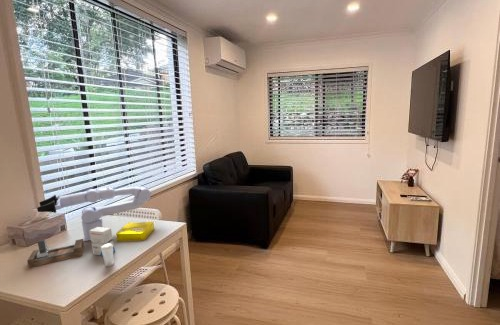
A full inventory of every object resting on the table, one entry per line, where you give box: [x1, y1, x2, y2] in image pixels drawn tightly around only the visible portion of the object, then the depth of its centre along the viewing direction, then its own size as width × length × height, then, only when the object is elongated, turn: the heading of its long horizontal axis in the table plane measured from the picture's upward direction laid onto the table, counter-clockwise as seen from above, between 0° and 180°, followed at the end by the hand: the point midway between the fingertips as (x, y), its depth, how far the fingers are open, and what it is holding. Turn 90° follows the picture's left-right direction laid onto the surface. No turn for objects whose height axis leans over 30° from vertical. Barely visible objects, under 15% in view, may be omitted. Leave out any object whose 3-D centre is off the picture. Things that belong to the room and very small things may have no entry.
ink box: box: [89, 226, 116, 256], centre depth 129 cm, size 9×5×12 cm, turn 71°
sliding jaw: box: [37, 238, 52, 259], centre depth 127 cm, size 4×6×7 cm, turn 26°
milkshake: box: [98, 243, 115, 267], centre depth 119 cm, size 4×5×10 cm
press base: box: [27, 238, 85, 268], centre depth 129 cm, size 20×10×4 cm, turn 116°
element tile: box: [115, 221, 155, 242], centre depth 149 cm, size 15×15×5 cm
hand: (38, 207), depth 135 cm, fingers open, 7 cm apart
